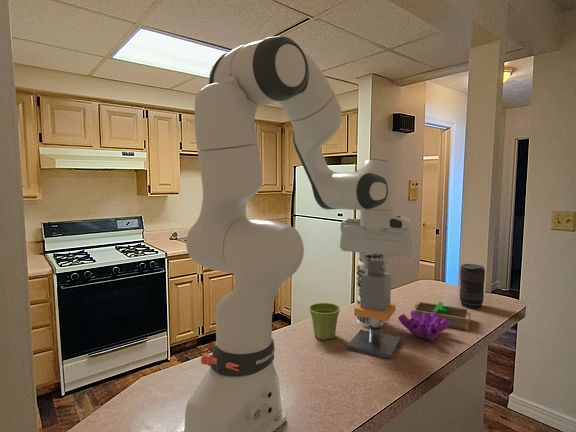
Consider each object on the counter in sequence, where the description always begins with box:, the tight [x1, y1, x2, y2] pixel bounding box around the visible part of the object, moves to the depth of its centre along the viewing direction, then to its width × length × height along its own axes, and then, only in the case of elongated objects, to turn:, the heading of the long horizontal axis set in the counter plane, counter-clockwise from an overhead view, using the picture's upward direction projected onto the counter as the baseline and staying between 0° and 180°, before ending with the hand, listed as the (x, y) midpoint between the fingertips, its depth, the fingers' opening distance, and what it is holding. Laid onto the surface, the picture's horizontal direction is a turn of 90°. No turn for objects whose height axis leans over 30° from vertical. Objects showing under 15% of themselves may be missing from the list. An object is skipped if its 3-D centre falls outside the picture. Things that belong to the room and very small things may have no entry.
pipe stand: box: [346, 318, 402, 360], centre depth 102 cm, size 12×12×14 cm
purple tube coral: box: [398, 310, 450, 340], centre depth 109 cm, size 11×15×10 cm
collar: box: [353, 302, 396, 322], centre depth 102 cm, size 9×9×2 cm
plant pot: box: [308, 302, 341, 341], centre depth 109 cm, size 9×9×9 cm
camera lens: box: [459, 263, 486, 310], centre depth 134 cm, size 8×8×15 cm
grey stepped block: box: [360, 258, 392, 312], centre depth 101 cm, size 7×7×13 cm
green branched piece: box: [433, 301, 450, 315], centre depth 121 cm, size 10×4×4 cm, turn 147°
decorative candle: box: [356, 253, 384, 328], centre depth 119 cm, size 9×9×25 cm
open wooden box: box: [410, 301, 472, 331], centre depth 121 cm, size 10×17×4 cm, turn 61°
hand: (376, 269), depth 101 cm, fingers closed on grey stepped block, 3 cm apart
